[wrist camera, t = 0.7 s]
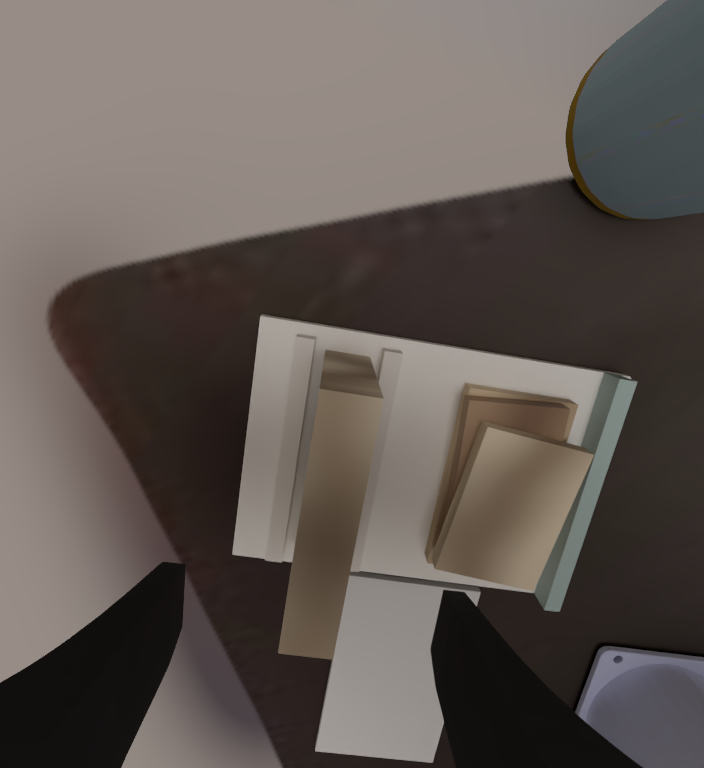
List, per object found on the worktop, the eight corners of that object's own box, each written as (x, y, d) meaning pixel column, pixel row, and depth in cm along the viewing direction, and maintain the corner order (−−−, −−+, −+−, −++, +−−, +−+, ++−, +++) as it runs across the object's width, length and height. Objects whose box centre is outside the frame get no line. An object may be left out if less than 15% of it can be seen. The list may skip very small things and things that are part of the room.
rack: (623, 373, 21) (648, 383, 20) (552, 588, 24) (569, 613, 23) (262, 314, 20) (255, 319, 19) (234, 547, 23) (226, 570, 22)
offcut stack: (577, 400, 21) (606, 417, 19) (526, 566, 23) (546, 600, 21) (461, 382, 21) (477, 397, 18) (421, 552, 23) (430, 585, 21)
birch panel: (369, 356, 20) (383, 398, 14) (334, 550, 23) (332, 659, 17) (325, 349, 20) (319, 388, 14) (294, 544, 23) (277, 653, 16)
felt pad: (478, 586, 24) (480, 592, 24) (431, 755, 27) (432, 762, 27) (349, 570, 24) (349, 575, 23) (315, 744, 27) (315, 751, 26)
